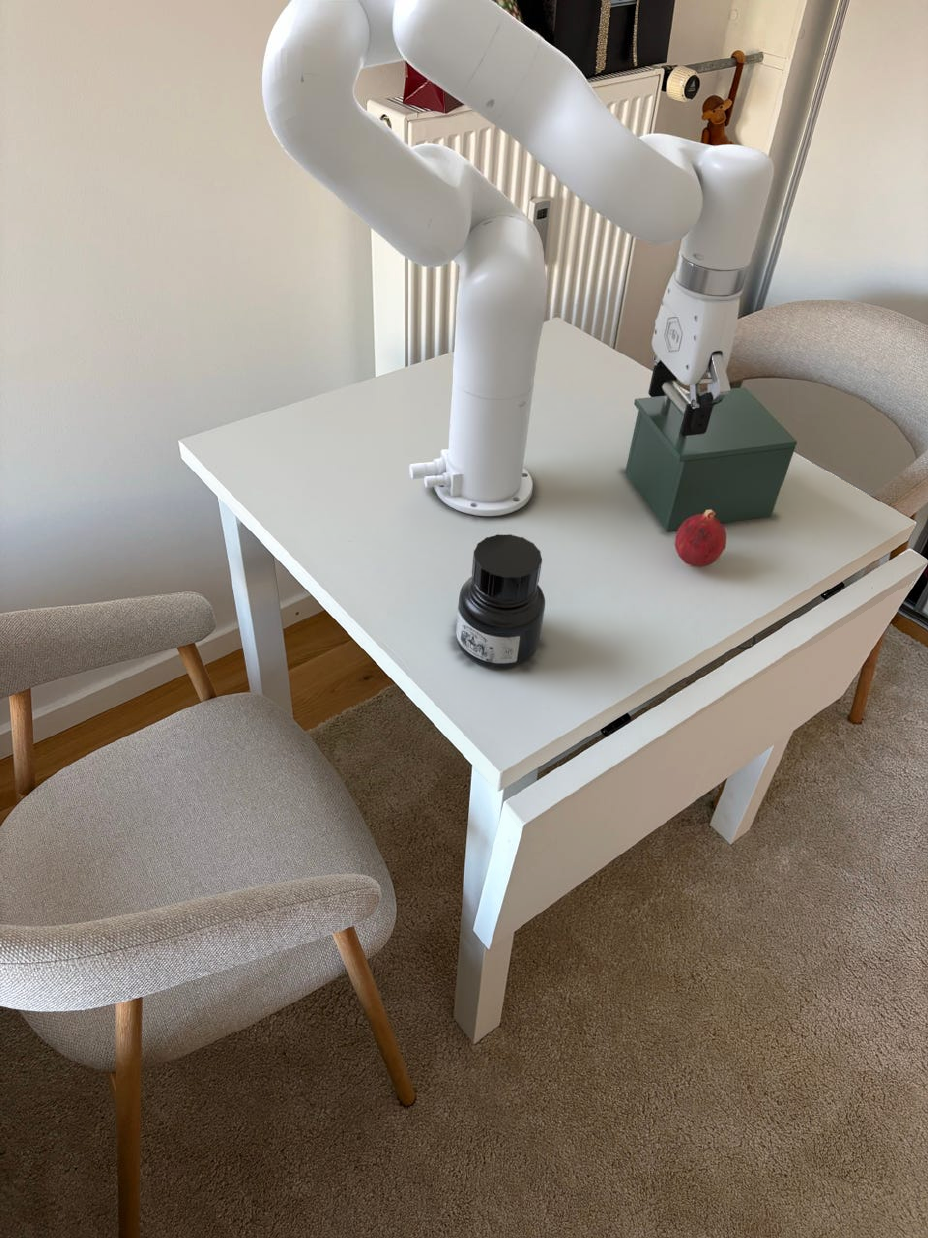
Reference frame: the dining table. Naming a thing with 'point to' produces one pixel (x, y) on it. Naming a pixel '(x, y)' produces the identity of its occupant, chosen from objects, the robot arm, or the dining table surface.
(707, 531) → the onion
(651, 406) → the bin lid
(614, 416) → the dining table surface
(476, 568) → the ink bottle
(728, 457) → the bin
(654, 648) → the dining table surface
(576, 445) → the dining table surface
